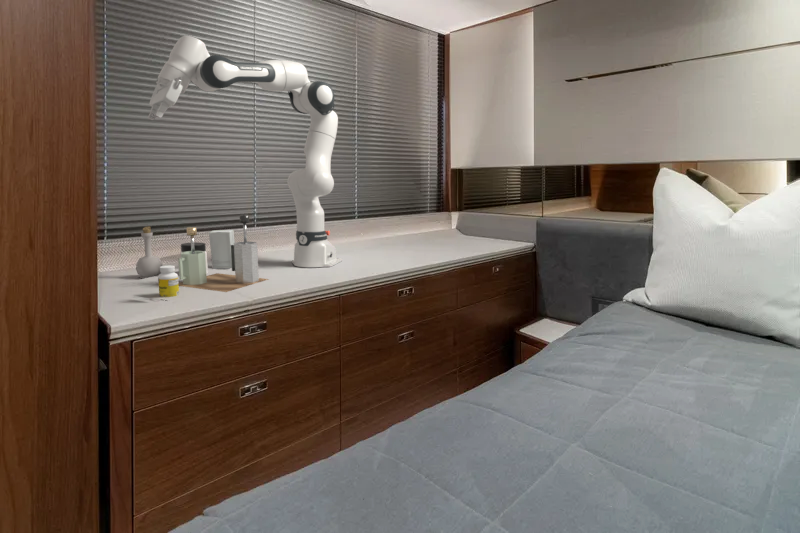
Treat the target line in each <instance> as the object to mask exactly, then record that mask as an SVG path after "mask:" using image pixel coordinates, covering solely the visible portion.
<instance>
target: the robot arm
mask: <svg viewBox="0 0 800 533" xmlns="http://www.w3.org/2000/svg"><path fill="white" fill-rule="evenodd" d="M308 73H309V72H308V70H307V68H306V66H305V65H304V64H302V63H301V62H297V61H292V60H287V59H270V60H269V59H268V60H264V61H259V62H243V61H242V62H241V61H234V60H231V59H229V58H226V57H224V56H222V55H220V54H219V55H218V54H213V55H210V52H209V51H208V49H207V46H206V44H205V42H204V41H202V40H201V39H200V38H198V37H196V36H193V35H189V34H187V35H182V36H180V37H179V39H178V40H177V41H176V43H175V44H174V46H173V47H172V49H171V51H170V52H169V57H168V60H167V61H166V62H165V63H164V65H163V66H162V69H161V70H160V72H159V74H158V76H157V79H156V81H155V84H156V86H155V87H154V90H153V92H152V95H151V98H150V100H149V107H151V108H150V112H149V114H148V116H147V117H148V119H149V120H151V121H154V120H156V117H157V118H158V119H159V118H160V119H161V118H163V116H164V114H165V112H166V111H167V110H168V109H169V107H173V106H175V104H176V103H177V101H178V99H179V98H180V95H181V94H185V93H186V91H187V89H188V88H189V84H190V83H192V84H193V85H195V86H196V87H197V88H198V89H200V90H201V91H204V92H205V93H206V92H207V93H209V92H215V91H218V90H220V89H225V88H228V87H230V86H231V85H233V84H235V83H256V84H258V86H259V87H260V88H261V89H262V90H263V91H267V92H268V91H269V92H275V93H276V92H279V93H280V92H287V94H288V97H289V102H290V105H291V107H292V108H293V110H295V112H297V113H300V114H303V115H307V114H309V116H310V125H309V128H308V133H307V135H306V136H307V137H306V140H305V144H304V147H303V153H304V155H305V167H304V168H298V169H296V170H294V171H291V173H290V174H289V175H288V177H287V182H286V183H287V186H288V187H287V188H288V189H289V190H290V192H291V195H292V198H293V201H294V202H293V203H294V205H295V206H294V207H295V210H296V211H295V212H296V231H295V238H296V242H295V243H294V249H293V250H294V251H293V260H292V261H291V264H293V266H295V267H298V268H323V267H325V268H328V267H329V268H330V267H333V266H335V265H337V264H339V263H341V262H342V261H343V258H341V257H337V249H336V246H334V245H333V244H332V243H331V242H330V241H329V240H328V236H330V230H325V227H326V226H325V210H324V208H323V207H322V205H321V202H320V199H319V198H320V197H325V196H327V195H329V194H331V192H332V191H333V189H334V186H335V180H334V177H333V176H332V171H331V170H332V169H331V168H332V167H331V165H332V164H331V161H332V160H331V159H332V156H333V150H334V146H335V142H336V138H337V134H338V133H337V132H338V126H339V118H338V117H339V116H338V113H336V111H334V108H335V92H334V89H333V87H332V86H331V85H330V84H329V83H328V82H326V81H322V80H315V81H310V79H309V75H308Z"/></svg>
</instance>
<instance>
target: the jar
mask: <svg viewBox="0 0 800 533" xmlns="http://www.w3.org/2000/svg"><path fill="white" fill-rule="evenodd" d="M194 248H195V251H205V260H206V275H207V274H208V275H209V268H208V267H209V266H208V254H207V253H208V252H207V251H206V249H207V248H206V243H205V242H197V241H194ZM180 249H181V250H180V253H181V252H187V251H191V242H184V243H181V244H180Z"/></svg>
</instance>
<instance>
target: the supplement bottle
mask: <svg viewBox="0 0 800 533" xmlns="http://www.w3.org/2000/svg"><path fill="white" fill-rule="evenodd" d="M175 268H176V267H175V265H163V266H161V267H160V272H161V274H159V275H158V276H157V282H158V284H157V285H158V294H159V295H158V296H159V297H160V298H161V297H162V298H172V297H176V296H177V297H178V296H179V295H180V286H179V274H178V273H176V272H175V271H176V269H175ZM164 300H165V299H164ZM160 301H163V299H160ZM166 301H167V302H168V300H167V299H166V300H165V301H164V302H166Z"/></svg>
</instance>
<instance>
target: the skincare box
mask: <svg viewBox="0 0 800 533" xmlns="http://www.w3.org/2000/svg"><path fill="white" fill-rule="evenodd" d="M234 232H235V230H234V229H226V230H225V229H224V230H223V229H222V230H221V229H219V230H215V229H214V230H211V231H209V232H208V235H209V238H208V239H209V245H210V257H211V258H210V259H211V265H212V266H211V267H212V270H222V269H223V270H225V269H226V270H227V269H232V260H231V245H234V243H236V240H235V233H234Z"/></svg>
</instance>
